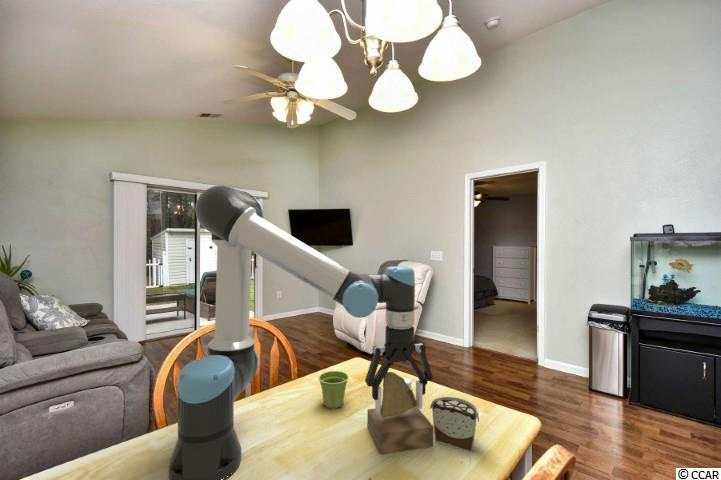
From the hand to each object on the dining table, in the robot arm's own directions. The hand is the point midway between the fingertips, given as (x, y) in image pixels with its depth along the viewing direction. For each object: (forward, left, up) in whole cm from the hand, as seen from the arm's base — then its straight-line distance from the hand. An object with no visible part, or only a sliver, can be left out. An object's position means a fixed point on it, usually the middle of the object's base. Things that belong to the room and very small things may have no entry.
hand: (398, 408), depth 91 cm
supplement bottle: (+7, +14, -8) cm, 17 cm away
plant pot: (-14, +21, -8) cm, 26 cm away
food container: (+14, -5, -8) cm, 17 cm away
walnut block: (0, 0, -7) cm, 7 cm away
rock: (0, 0, -1) cm, 1 cm away
